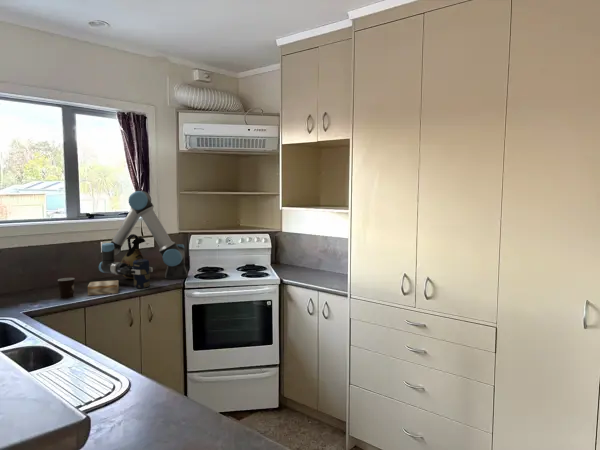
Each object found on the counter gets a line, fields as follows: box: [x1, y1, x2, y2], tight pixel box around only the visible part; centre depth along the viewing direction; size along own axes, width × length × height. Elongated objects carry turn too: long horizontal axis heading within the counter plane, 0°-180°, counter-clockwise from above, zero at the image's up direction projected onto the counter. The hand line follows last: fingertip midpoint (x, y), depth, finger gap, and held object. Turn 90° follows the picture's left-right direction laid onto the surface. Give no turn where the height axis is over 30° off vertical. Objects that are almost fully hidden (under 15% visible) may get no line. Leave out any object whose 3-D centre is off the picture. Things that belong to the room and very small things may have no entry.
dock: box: [87, 279, 120, 296], centre depth 267 cm, size 16×14×5 cm
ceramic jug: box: [120, 233, 146, 280], centre depth 304 cm, size 17×15×30 cm
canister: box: [133, 258, 151, 289], centre depth 278 cm, size 10×10×18 cm
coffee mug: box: [57, 277, 75, 299], centre depth 257 cm, size 12×9×10 cm
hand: (146, 270), depth 277 cm, fingers closed on canister, 10 cm apart
